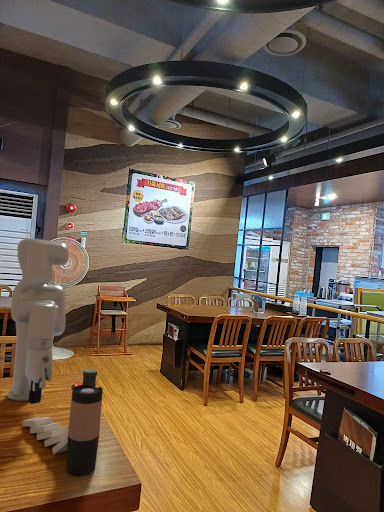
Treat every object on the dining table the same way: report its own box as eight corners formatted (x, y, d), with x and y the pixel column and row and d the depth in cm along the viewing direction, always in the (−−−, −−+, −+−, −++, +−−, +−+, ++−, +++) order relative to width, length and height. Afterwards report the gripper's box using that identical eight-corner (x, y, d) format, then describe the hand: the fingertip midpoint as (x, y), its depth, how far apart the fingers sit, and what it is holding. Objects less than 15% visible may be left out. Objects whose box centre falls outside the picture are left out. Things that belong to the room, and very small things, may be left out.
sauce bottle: (88, 445, 108) (94, 375, 108) (68, 441, 109) (74, 372, 110) (98, 435, 114) (104, 369, 115) (79, 432, 116) (85, 366, 116)
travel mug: (66, 479, 91) (74, 394, 91) (63, 463, 98) (70, 384, 98) (98, 474, 94) (105, 393, 94) (93, 459, 101) (100, 383, 101)
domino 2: (29, 427, 113) (43, 425, 106) (46, 423, 116) (60, 421, 110) (29, 433, 112) (43, 432, 106) (46, 429, 116) (61, 428, 109)
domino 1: (22, 420, 117) (35, 420, 110) (38, 416, 121) (52, 417, 114) (22, 426, 117) (35, 426, 110) (39, 422, 120) (52, 423, 113)
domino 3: (36, 433, 109) (51, 430, 103) (53, 429, 113) (68, 426, 106) (37, 440, 109) (52, 437, 102) (54, 435, 112) (69, 432, 106)
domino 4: (44, 440, 106) (59, 434, 100) (61, 436, 109) (77, 429, 103) (44, 447, 105) (60, 440, 99) (62, 442, 109) (78, 436, 102)
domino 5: (52, 448, 102) (67, 434, 97) (69, 443, 106) (85, 430, 100) (53, 454, 101) (69, 441, 96) (70, 449, 105) (86, 436, 100)
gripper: (62, 347, 116) (56, 407, 115) (41, 337, 126) (36, 393, 126) (37, 349, 110) (31, 413, 110) (18, 339, 121) (13, 397, 120)
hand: (34, 402), depth 118 cm, fingers closed
